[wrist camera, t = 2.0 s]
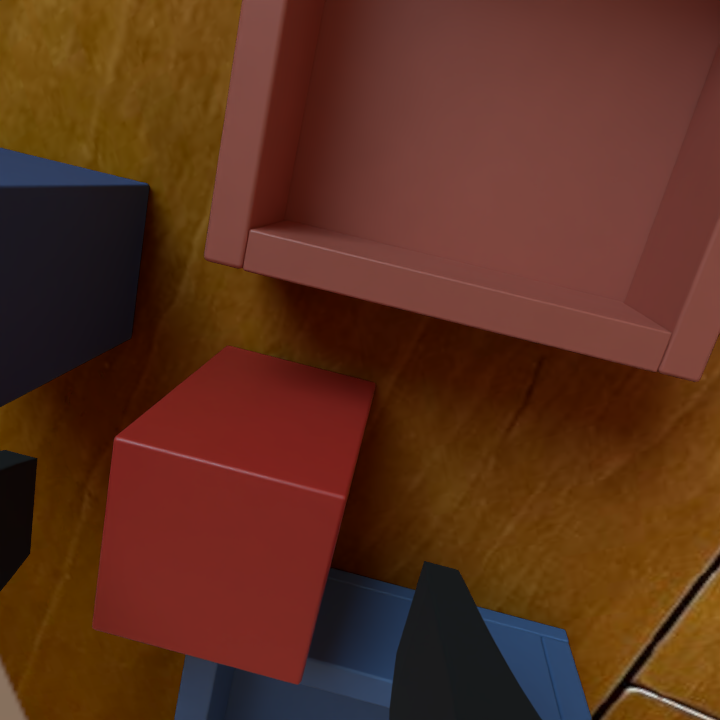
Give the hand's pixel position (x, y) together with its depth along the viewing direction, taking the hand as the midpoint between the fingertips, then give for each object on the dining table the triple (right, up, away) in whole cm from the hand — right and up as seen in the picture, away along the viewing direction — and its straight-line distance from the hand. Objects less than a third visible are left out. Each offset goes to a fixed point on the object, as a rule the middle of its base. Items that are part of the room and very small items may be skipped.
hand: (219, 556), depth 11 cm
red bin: (+6, +10, +2) cm, 11 cm away
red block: (+1, +2, +5) cm, 6 cm away
